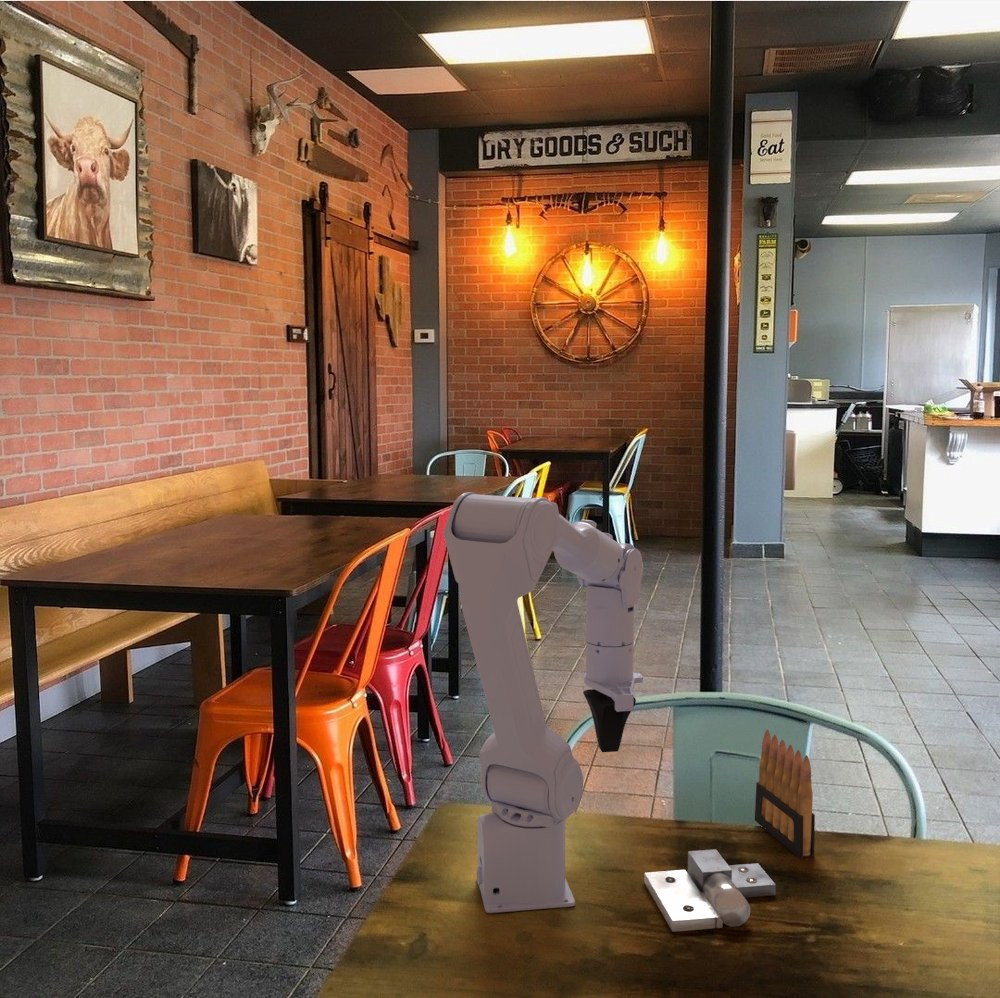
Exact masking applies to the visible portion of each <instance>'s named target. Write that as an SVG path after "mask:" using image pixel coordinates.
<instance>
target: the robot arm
mask: <svg viewBox="0 0 1000 998" xmlns="http://www.w3.org/2000/svg"><path fill="white" fill-rule="evenodd" d="M597 525H598V524H597V522H595V521H594V520H590V519H580V521H575V522H572V523H571V522H570V521H569V520H568V519H567V518H565V517H564V516H563V515H562V514H560V511H559V506H558V504H557V502H553V501H550V499H548V498H547V497H544V496H543V497H541V496H539V497H534V498H533V497H519V496H506V495H505V496H504V495H491V494H480V493H479V494H477V493H476V492H472V491H471V492H470V491H469V492H464V493H462V494H460V495H459V496H458V497H457V498H456V499H455V501H454V502H453V504H452V506H451V508H450V511H449V514H448V517H447V521H446V523H445V526H444V530H443V533H442V534H443V538H444V541H445V545H446V549H447V552H448V556H449V557H448V558H449V560H450V561H449V562H450V565H451V568H452V569H451V570H452V573H453V575H454V580H455V582H456V583H457V584H458V591H459V602H460V606H461V611H462V615H463V617H464V621H465V625H466V629H467V633H468V637H469V641H470V644H471V645H470V646H471V649H472V653H473V657H474V660H475V664H476V667H477V671H478V675H479V680H480V683H481V687H482V690H483V695H484V697H485V701H486V707H487V709H488V713H489V716H490V721H491V725H492V728H493V733H491V735H489V736H488V737H487V739H486V740H485V742H484V743H483V745H482V747H481V749H480V751H479V752H478V757H479V762H480V776H479V777H480V779H479V780H480V787H481V792H482V794H483V797H484V798H485V800H487V801H488V802H491V812H488V813H484V814H480V815H478V816H477V823H476V824H477V825H476V826H477V827H476V829H477V831H476V833H477V835H476V836H477V837H476V838H477V840H476V842H477V843H476V844H477V845H476V846H477V851H476V852H477V867H476V882H477V885H478V888H479V891H480V894H481V895H480V896H481V899H482V903H483V908H484V911H485V912H486V913H487V914H495V913H497V914H498V913H506V912H508V913H509V912H518V911H519V912H520V911H531V910H543V909H546V910H547V909H557V908H570V907H571V908H572V907H574V906H575V905H576V899H575V897H574V895H573V893H572V890H571V887H570V886H569V883H568V881H567V878H566V819H568V818H569V817H570V816H571V815H573V814H574V812H575V811H576V809H577V808H578V806H579V804H580V801H581V799H582V794H583V790H584V775H583V771H582V769H581V765H580V764H579V762H578V761H577V760H576V759H575V758H574V755H573V752H572V748H571V744H569V743H568V742H567V741H565V739H563V737H561V736H560V735H558V734H557V733H555V731H553V730H552V729H550V728H549V727H548V725H547V723H546V719H545V713H544V711H543V705H542V702H541V697H540V694H539V693H540V692H539V688H538V684H537V680H536V675H535V671H534V667H533V662H532V659H531V655H530V651H529V647H528V642H527V637H526V633H525V629H524V626H523V620H522V616H521V611H520V607H519V603H518V600H519V599H520V598H521V597H523V596H525V595H528V594H529V593H531V592H533V591H534V590H535V588H536V586H537V584H538V582H539V580H540V577H541V575H542V573H543V572H544V569H545V567H546V565H547V563H548V561H549V559H550V557H551V555H552V553H553V554H554V558H555V561H556V562H557V564H558V565H559V566H560V567H561V568H563V569H564V570H566V571H567V572H570V573H571V574H573V575H576V578H577V581H578V583H579V585H580V587H581V588H583V587H586V588H585V673H584V676H583V682H584V683H583V684H584V685H586V686H587V687H589V688H591V689H585V690H583V696H584V698H585V699H586V701H587V704H588V706H589V710H590V713H591V716H592V720H593V724H594V729H595V730H594V731H595V735H596V740H597V744H598V748H599V750H600V752H601V753H612V752H613V753H614V752H619V749H620V747H621V742H622V738H623V734H624V730H625V727H626V724H627V721H628V718H629V716H630V714H631V712H633V711H634V708H635V706H636V703H637V702H636V701H637V699H636V697H635V696H634V693H633V691H634V689H635V684H640V683H643V682H644V676H643V675H642V674H641V673H640V672H634V652H635V651H634V646H635V644H634V642H635V641H634V638H635V625H634V624H635V605H637V604H638V603H639V602H638V601H639V597H640V596H639V595H640V592H639V591H640V586H641V582H642V579H643V575H644V563H643V558H642V553H641V551H640V550H639V549H638V548H636V547H635V546H634V545H633V544H631V543H626V542H625V543H624V542H617V541H616V540H614V539H613V535H612V534H610V533H608V532H602V531H601V530H599V529H597Z"/></svg>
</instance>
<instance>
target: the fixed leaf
mask: <svg viewBox="0 0 1000 998" xmlns="http://www.w3.org/2000/svg"><path fill="white" fill-rule="evenodd" d="M643 877H644V880H643V883H644V885H645V886H646V888H647V890H648V892H649V894H650V895H651V897H652V899H653V900H654V902H655V904H656V905H657V907H658V909H659V911H660V913H661V914H662V916H663V918H664V920H665V921H666V923H667V925H668V927H669V928H670V930H671V932H672V933H673V932H685V931H697V930H698V931H699V930H709V929H720V928H721V929H722V928H723V925H726V926H728V927H732V928H733V927H740V926H742V925H744V924H745V923H746V922H747V921H748V920H749V917H750V915H751V905H750V904H749V902H748V900H747V898H744V896H743V895H742V894H741V892H740V891H739V890H738V888H737V887H736V886H735V884H734V883H733V882H732V880H731V879H730V878H729V877H728V876H727V875H726V874H723V873H715V874H712V875H711V876H707V879H706V881H705V883H704V886H703V892H700V891H699V890H698V888H697V887H696V885H695V884H694V882H693V881H692V879H691V878H690V876H689V875H688V871H686V869H675V870H665V871H664V870H663V871H661V870H660V871H651V872H650V871H649V872H644V875H643Z"/></svg>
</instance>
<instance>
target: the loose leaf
mask: <svg viewBox="0 0 1000 998" xmlns="http://www.w3.org/2000/svg"><path fill="white" fill-rule="evenodd" d="M687 873H688V875H689V876H690V878H691V879H692V881H693V882H694V884H695V885H696V887H697V888H698V890H699V891H700V892H703V886H704V883H705V881H706V879H707V876H711V875H712V874H715V873H723V874H726V875H727V876H728V877H729V878H730V879H731V880H732V882H733V883H734V884H735V886H736V887H737V888H738V890H739V891H740V892H741V894H742V895H743V896H744V898H745V899H747V898H755V897H757V898H758V897H767V896H769V897H770V896H776V890H777V889H776V888H777V886H776V883H775V882H774V881H773V879H772V878H771V877H770V875H769V874H768V873H766V871H765V870H764V868H763V867H762V866H761V865H760V863H758V862H757V863H743V864H731V865H729V864H728V863H727V861H726V860H725V859H724V858H723V856H722V855H721V854H720V852H719V851H718V850H717V849H716V848H715V849H704V850H703V849H701V850H689V851H687Z"/></svg>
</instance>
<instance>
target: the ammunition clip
mask: <svg viewBox="0 0 1000 998" xmlns="http://www.w3.org/2000/svg"><path fill="white" fill-rule="evenodd" d="M758 768H759V769H758V772H759V773H758V782H756V785H755V786H756V787H755V803H754V804H755V805H754V806H755V807H754V821H755V822H756V823H757V824H758V825H760V826H761V827H762V828H766V829H767V830H766V829H765V830H766V831H767V832H768V833H769V834H770V835H771V836H773V837H774V838H775V839H776V840H777V841H779V842H780V843H781V844H782V845H784V847H786V849H788V850H789V851H790V852H791V853H793V854H794V855H795V856H796V857H798V858H799V859H807V858H813V857H815V831H816V830H815V829H816V828H815V827H816V823H815V822H816V821H815V819H816V814H815V813H814V812H813V792H814V791H813V788H812V787H813V786H812V767H811V762H810V757H809V756H808V755H807V754H806V755H805V756H804V758H802V753H801V751H800V750H799V749H797V750H796V752H794V748H793V746H792V744H789V745H788V746H787V747H786V743H785V740H784V739H781V740H780V742H779V739H778V737H777V734H775V733H774V734H773V736H772V738H771V733H770V731H769V729H766V730H765V732H764V734H763V737H762V742H761V753H760V760H759V767H758Z"/></svg>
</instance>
